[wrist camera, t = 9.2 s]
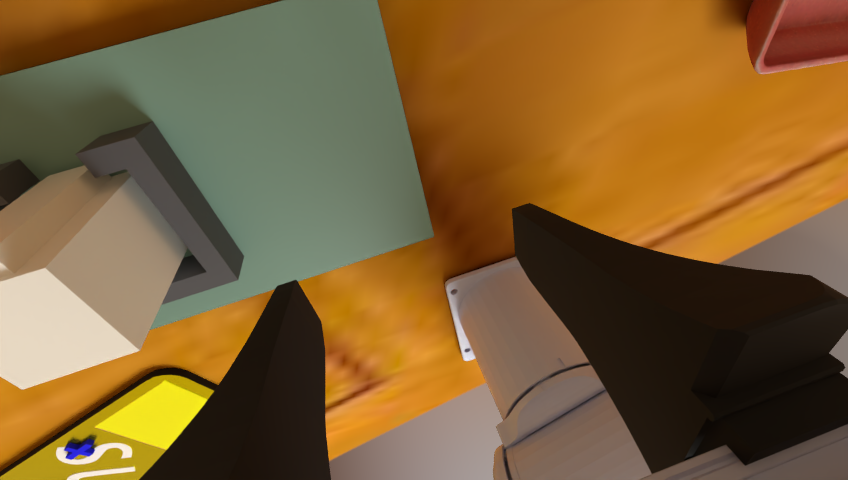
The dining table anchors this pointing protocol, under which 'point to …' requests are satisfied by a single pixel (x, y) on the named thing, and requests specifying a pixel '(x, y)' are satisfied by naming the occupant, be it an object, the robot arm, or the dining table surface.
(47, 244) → the keyed plug
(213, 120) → the board
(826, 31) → the plant saucer
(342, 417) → the dining table surface
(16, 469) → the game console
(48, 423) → the dining table surface
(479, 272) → the robot arm
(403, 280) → the dining table surface
